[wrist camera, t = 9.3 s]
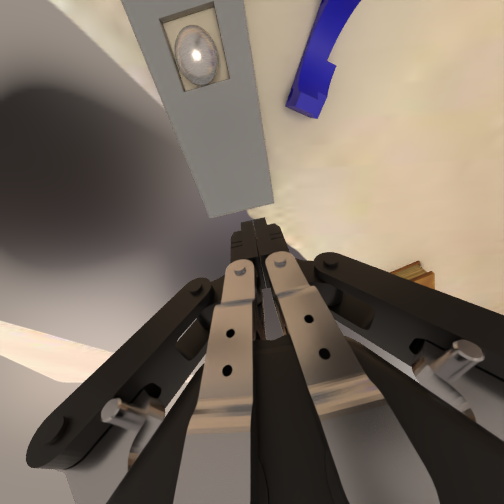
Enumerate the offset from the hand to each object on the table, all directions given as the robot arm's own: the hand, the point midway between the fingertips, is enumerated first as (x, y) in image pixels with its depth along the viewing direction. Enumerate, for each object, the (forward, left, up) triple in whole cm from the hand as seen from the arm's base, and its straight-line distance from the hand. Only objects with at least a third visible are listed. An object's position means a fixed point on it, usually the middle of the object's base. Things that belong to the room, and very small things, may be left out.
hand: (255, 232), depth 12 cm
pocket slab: (-4, -2, -25) cm, 26 cm away
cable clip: (-9, +13, -26) cm, 30 cm away
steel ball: (-12, -3, -23) cm, 26 cm away
